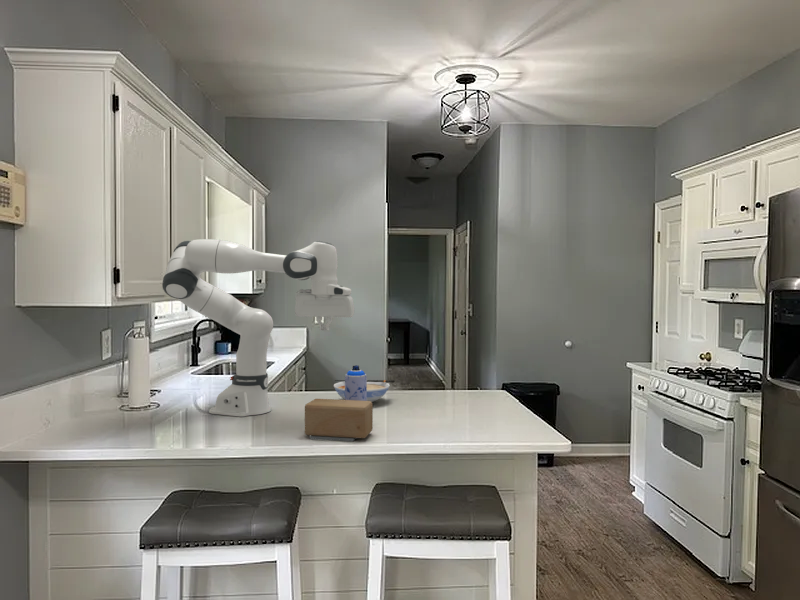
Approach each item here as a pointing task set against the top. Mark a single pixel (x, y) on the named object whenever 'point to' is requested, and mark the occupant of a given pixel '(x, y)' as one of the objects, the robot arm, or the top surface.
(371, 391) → the ramen bowl
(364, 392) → the aerosol can
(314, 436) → the mat
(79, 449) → the top surface
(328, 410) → the wooden block
